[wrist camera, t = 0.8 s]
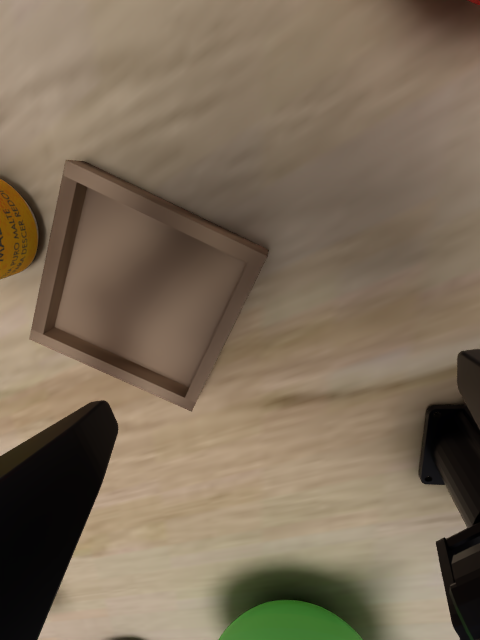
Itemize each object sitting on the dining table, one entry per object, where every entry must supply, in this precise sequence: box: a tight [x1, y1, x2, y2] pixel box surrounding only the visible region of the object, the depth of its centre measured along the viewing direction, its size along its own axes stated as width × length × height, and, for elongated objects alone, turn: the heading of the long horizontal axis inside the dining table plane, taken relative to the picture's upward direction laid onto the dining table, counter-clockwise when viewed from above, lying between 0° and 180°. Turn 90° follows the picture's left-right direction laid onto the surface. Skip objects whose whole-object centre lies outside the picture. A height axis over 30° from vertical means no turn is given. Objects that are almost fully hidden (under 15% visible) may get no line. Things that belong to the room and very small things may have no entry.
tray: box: [29, 160, 269, 411], centre depth 21 cm, size 12×12×2 cm
